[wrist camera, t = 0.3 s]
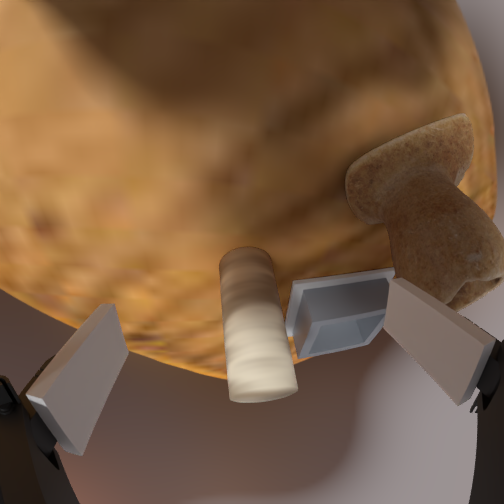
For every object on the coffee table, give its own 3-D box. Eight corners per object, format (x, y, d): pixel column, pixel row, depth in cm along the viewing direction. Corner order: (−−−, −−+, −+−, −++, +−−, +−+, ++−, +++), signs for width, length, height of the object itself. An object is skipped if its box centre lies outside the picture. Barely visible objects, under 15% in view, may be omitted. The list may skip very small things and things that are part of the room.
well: (292, 280, 35) (302, 318, 31) (395, 266, 36) (411, 297, 32) (282, 334, 47) (288, 363, 43) (363, 320, 48) (372, 346, 44)
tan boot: (357, 235, 30) (409, 353, 20) (327, 154, 22) (416, 299, 12) (456, 187, 26) (525, 281, 16) (453, 103, 18) (565, 199, 8)
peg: (216, 249, 29) (226, 391, 19) (272, 244, 30) (303, 381, 19) (221, 283, 34) (232, 404, 23) (270, 278, 34) (293, 397, 24)
